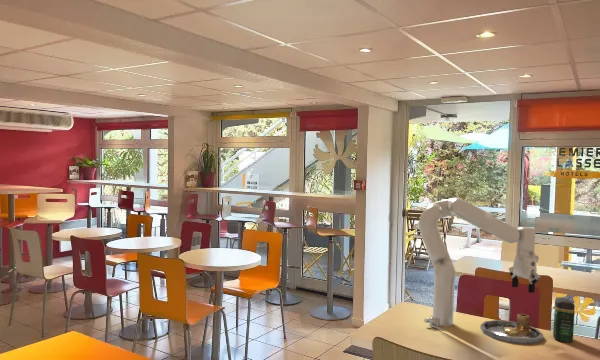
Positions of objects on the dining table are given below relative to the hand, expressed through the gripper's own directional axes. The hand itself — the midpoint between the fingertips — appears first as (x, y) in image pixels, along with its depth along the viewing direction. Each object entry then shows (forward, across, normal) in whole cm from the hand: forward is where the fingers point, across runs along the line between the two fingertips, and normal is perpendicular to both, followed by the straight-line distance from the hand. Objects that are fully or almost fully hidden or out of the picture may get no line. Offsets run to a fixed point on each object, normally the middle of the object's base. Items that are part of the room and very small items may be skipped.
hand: (523, 289), depth 216 cm
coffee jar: (+21, -10, -15) cm, 28 cm away
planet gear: (+20, -1, 0) cm, 20 cm away
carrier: (+21, -1, +7) cm, 22 cm away
